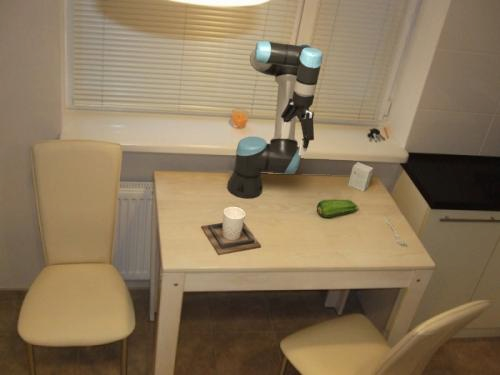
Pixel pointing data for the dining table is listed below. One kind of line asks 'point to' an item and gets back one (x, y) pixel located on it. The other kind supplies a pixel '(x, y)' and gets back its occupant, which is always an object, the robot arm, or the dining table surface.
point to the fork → (394, 231)
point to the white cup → (232, 222)
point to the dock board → (230, 246)
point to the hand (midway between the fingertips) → (293, 146)
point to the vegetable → (335, 207)
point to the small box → (360, 176)
